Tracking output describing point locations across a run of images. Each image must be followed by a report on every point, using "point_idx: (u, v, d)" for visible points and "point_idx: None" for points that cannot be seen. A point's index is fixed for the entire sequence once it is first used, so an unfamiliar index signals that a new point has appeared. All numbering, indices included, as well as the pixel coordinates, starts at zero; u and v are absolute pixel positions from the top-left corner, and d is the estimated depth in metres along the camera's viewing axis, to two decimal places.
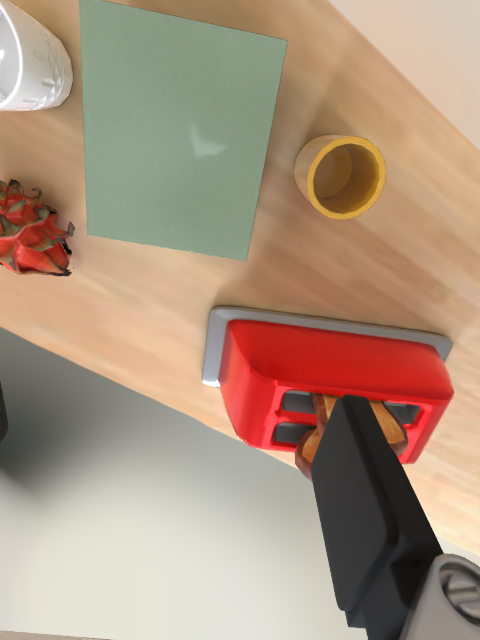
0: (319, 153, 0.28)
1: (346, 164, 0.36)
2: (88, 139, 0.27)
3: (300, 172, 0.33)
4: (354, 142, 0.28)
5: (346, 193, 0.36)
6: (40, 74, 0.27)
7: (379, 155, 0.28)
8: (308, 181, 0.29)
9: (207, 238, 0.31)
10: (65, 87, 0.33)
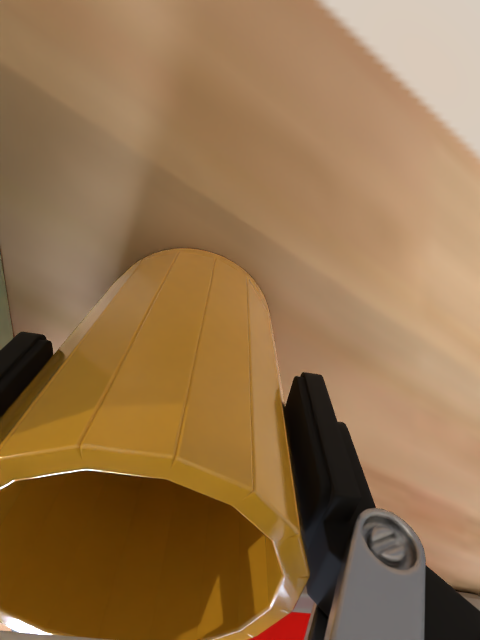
0: None
1: None
2: None
3: None
4: (110, 469, 0.05)
5: None
6: None
7: (265, 512, 0.05)
8: None
9: None
10: None
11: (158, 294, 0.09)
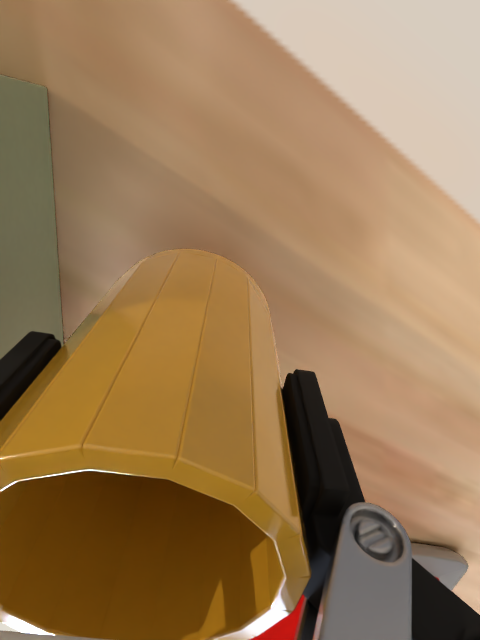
0: None
1: None
2: None
3: None
4: (112, 469, 0.05)
5: None
6: None
7: (266, 512, 0.05)
8: None
9: None
10: None
11: (159, 294, 0.09)
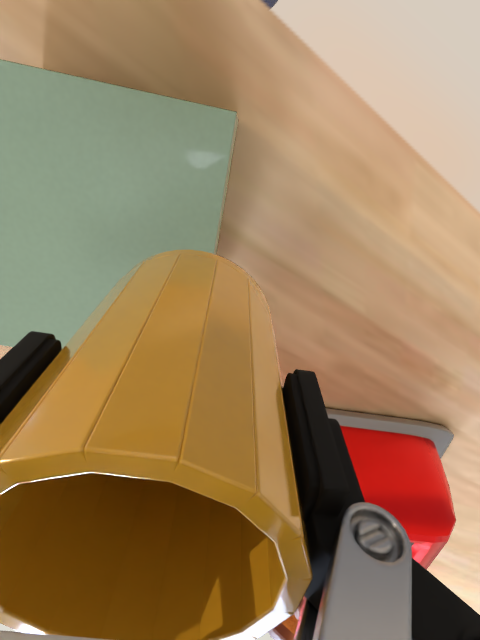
0: None
1: None
2: None
3: None
4: (114, 472, 0.05)
5: None
6: None
7: (268, 514, 0.05)
8: None
9: None
10: None
11: (160, 296, 0.09)
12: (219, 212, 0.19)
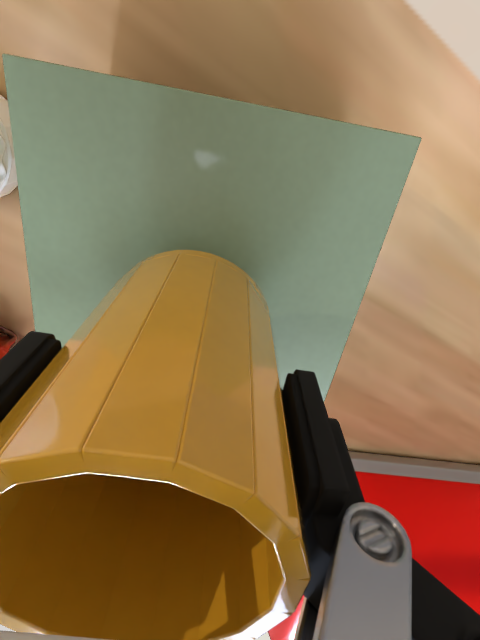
0: None
1: None
2: (38, 296, 0.15)
3: None
4: (112, 472, 0.05)
5: None
6: None
7: (266, 515, 0.05)
8: None
9: None
10: None
11: (159, 296, 0.09)
12: (372, 268, 0.14)
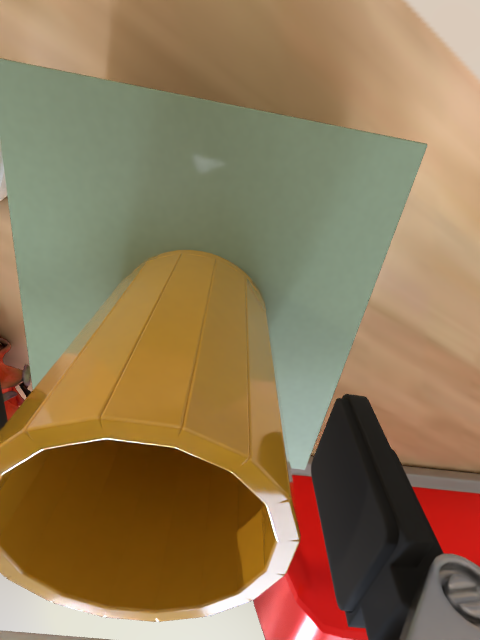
0: None
1: None
2: (29, 308, 0.15)
3: None
4: (126, 438, 0.06)
5: None
6: None
7: (260, 478, 0.06)
8: None
9: None
10: None
11: (163, 291, 0.10)
12: (375, 278, 0.14)
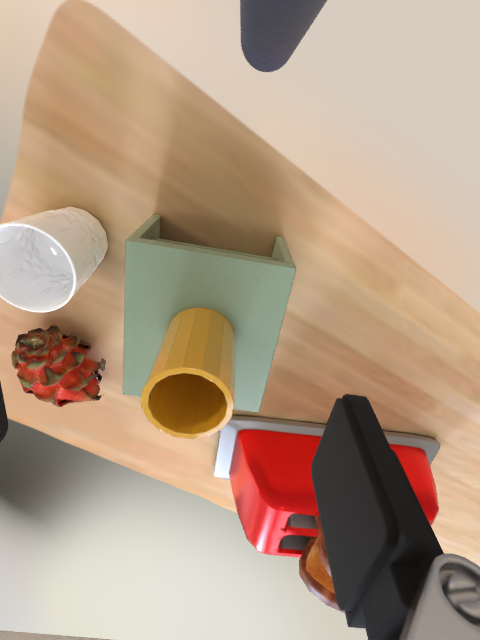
0: (149, 382, 0.24)
1: None
2: (127, 331, 0.32)
3: None
4: (188, 372, 0.23)
5: None
6: (86, 274, 0.32)
7: (221, 384, 0.24)
8: (142, 406, 0.25)
9: None
10: (102, 257, 0.38)
11: (192, 330, 0.27)
12: (282, 318, 0.31)
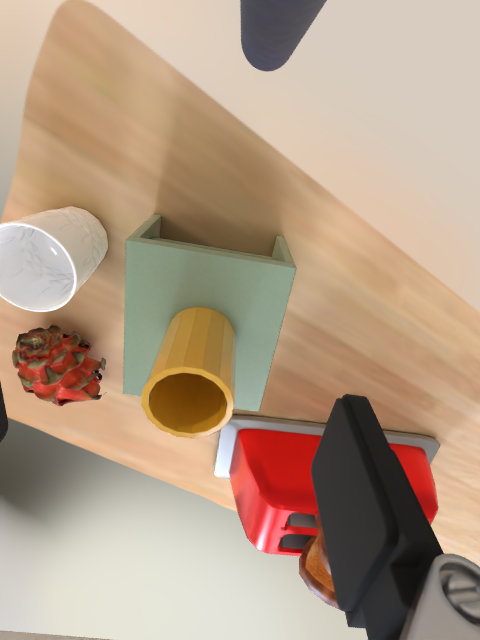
0: (149, 381, 0.24)
1: None
2: (127, 330, 0.32)
3: None
4: (188, 372, 0.23)
5: None
6: (87, 273, 0.33)
7: (221, 383, 0.24)
8: (143, 405, 0.25)
9: None
10: (102, 257, 0.38)
11: (192, 329, 0.27)
12: (282, 318, 0.31)
